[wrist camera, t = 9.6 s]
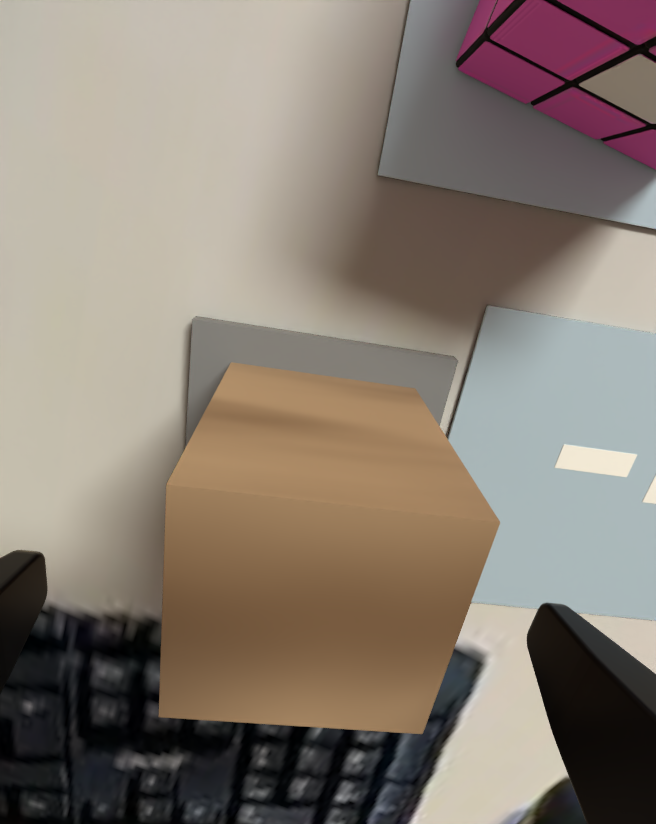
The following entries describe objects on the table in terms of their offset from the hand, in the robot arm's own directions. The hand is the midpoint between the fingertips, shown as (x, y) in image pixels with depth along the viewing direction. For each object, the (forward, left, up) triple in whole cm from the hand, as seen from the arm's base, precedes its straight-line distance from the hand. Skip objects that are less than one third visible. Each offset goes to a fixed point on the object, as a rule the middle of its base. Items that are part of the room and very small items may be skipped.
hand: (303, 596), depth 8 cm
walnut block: (0, 0, -5) cm, 5 cm away
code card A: (0, -9, -6) cm, 11 cm away
